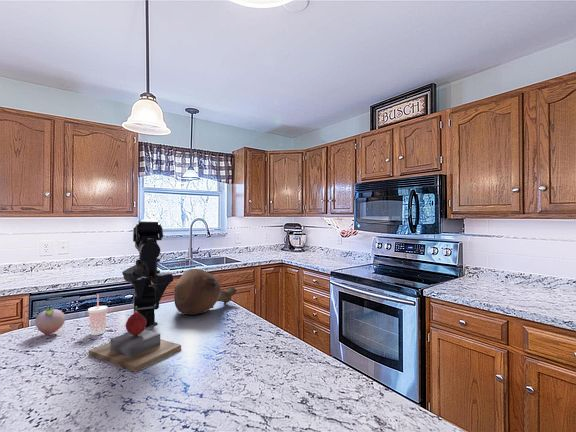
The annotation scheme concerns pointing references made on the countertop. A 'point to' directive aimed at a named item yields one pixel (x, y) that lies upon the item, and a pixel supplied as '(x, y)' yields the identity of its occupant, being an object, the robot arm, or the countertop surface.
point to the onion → (136, 324)
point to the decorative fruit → (50, 321)
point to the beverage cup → (97, 318)
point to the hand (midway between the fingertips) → (148, 301)
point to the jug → (199, 292)
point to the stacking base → (136, 359)
